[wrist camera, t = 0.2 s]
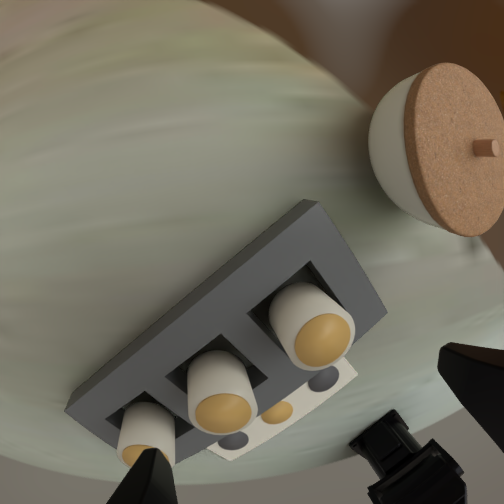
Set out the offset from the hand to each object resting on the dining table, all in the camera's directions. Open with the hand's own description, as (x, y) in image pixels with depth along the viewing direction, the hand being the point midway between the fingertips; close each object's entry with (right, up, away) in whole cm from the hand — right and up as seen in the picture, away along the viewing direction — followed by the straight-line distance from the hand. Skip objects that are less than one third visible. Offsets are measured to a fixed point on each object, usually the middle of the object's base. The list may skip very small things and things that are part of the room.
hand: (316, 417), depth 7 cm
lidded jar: (+10, +12, +13) cm, 21 cm away
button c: (-10, -8, +12) cm, 17 cm away
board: (-5, -3, +14) cm, 15 cm away
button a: (+1, +1, +12) cm, 12 cm away
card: (0, -9, +16) cm, 18 cm away
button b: (-4, -4, +12) cm, 13 cm away
